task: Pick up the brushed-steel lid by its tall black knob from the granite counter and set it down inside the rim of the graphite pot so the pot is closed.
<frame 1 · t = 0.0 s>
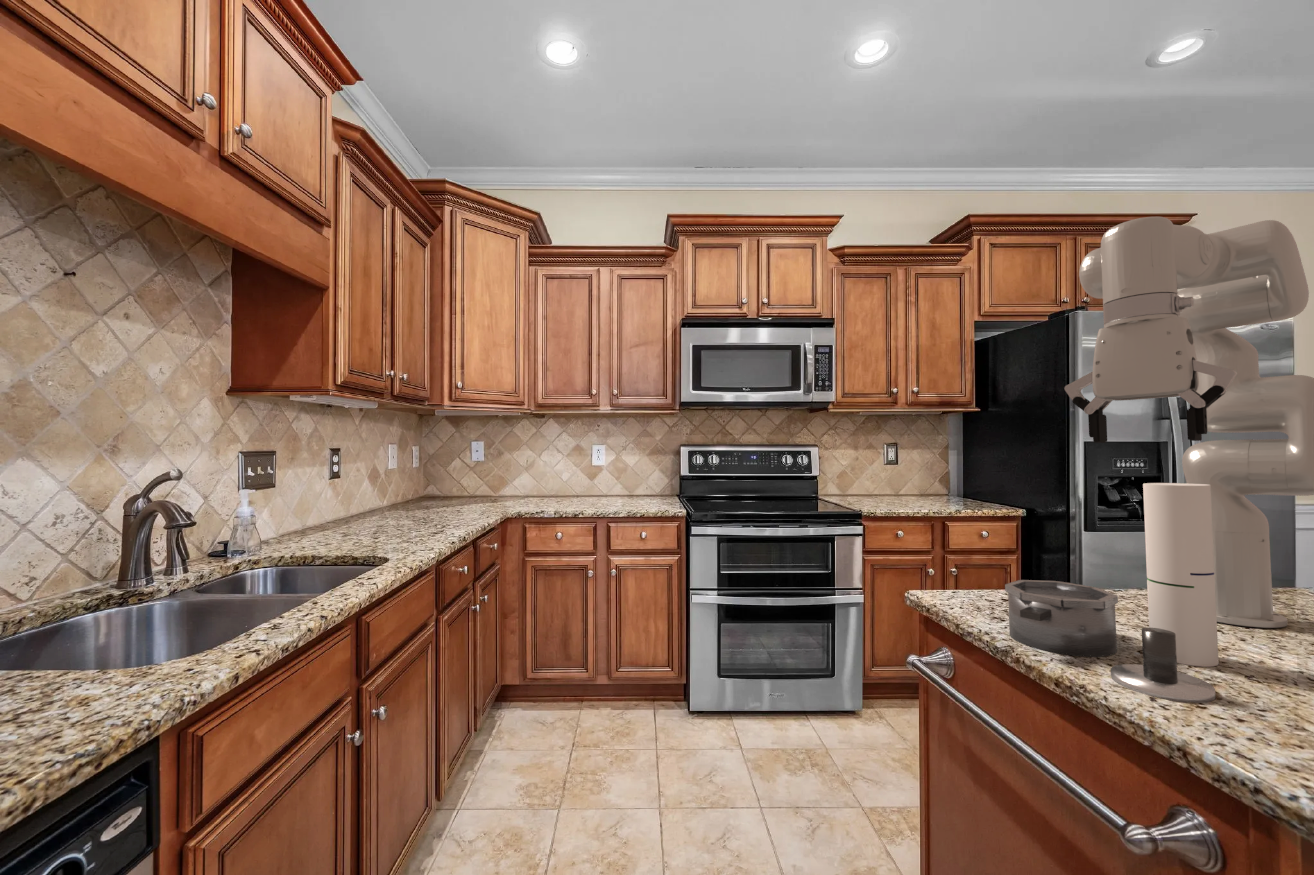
hand: (1145, 441, 73), 31 cm above the counter, tool pointing down, fingers open, 9 cm apart
cylindrical container: (1183, 658, 79), on the counter
lid: (1160, 686, 70), on the counter
pot: (1060, 641, 86), on the counter
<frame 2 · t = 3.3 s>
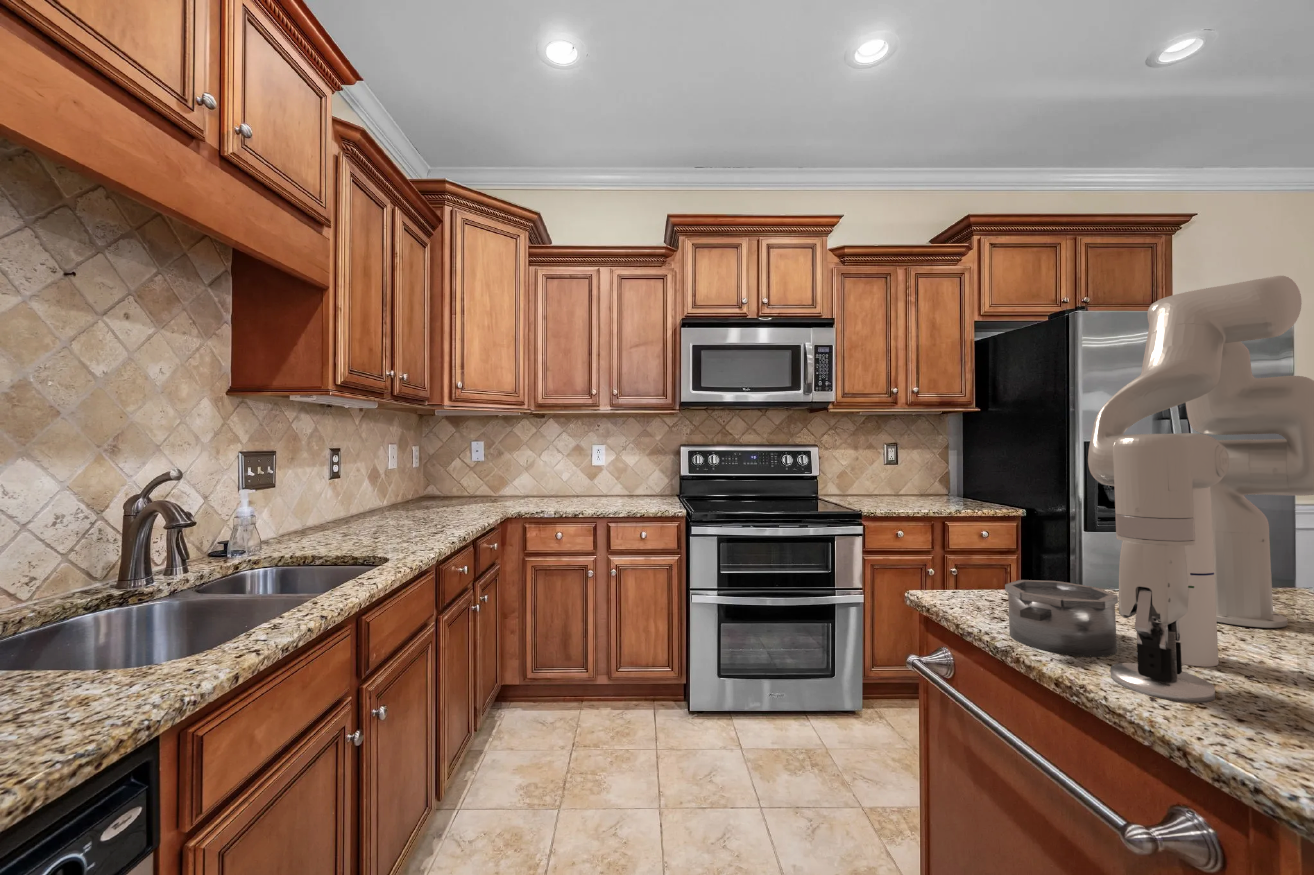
hand: (1160, 673, 70), 2 cm above the counter, tool pointing down, fingers closed on lid, 3 cm apart
lid: (1160, 685, 70), on the counter, touching gripper
everything else where it was.
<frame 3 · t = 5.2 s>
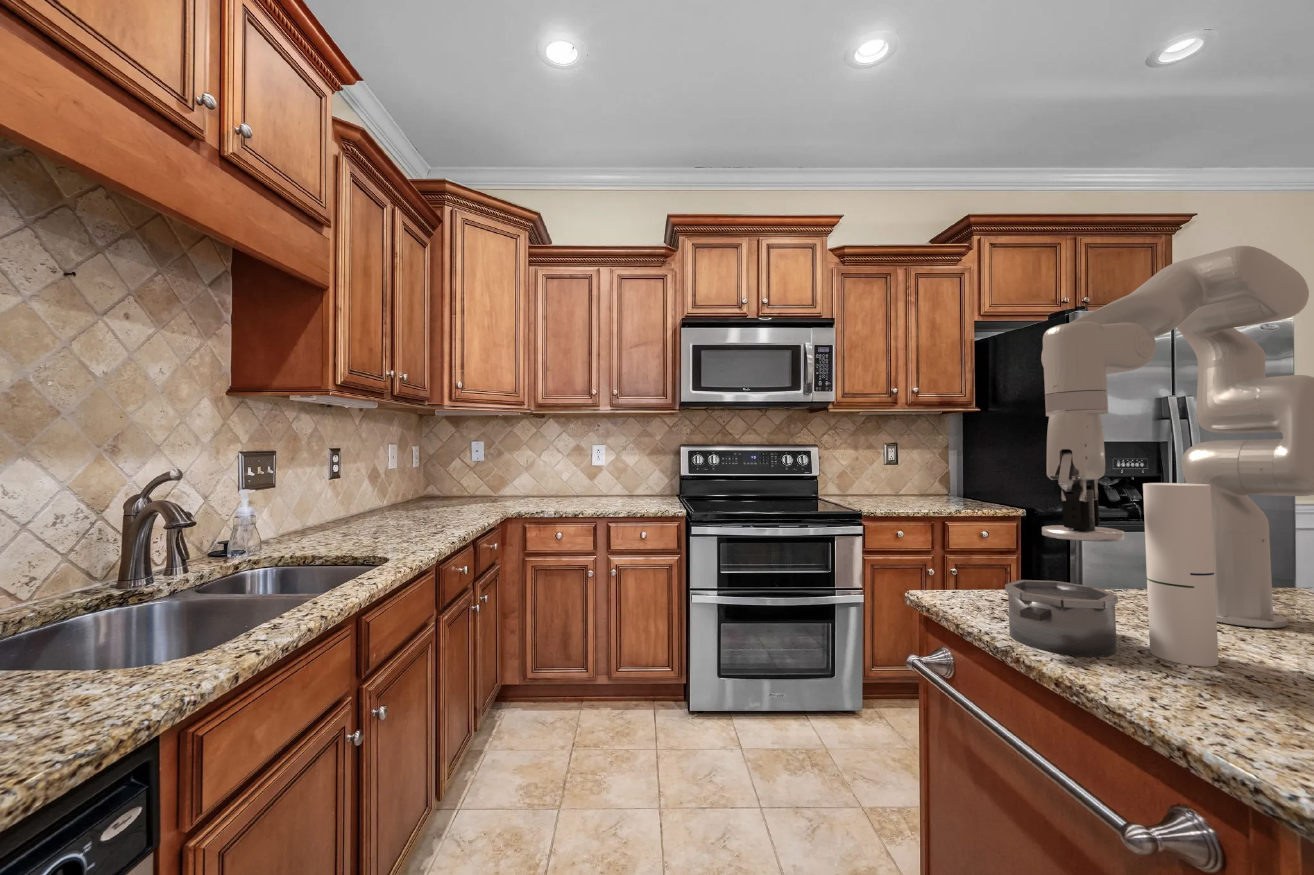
hand: (1081, 525, 82), 19 cm above the counter, tool pointing down, fingers closed on lid, 3 cm apart
lid: (1081, 536, 82), point 17 cm above the counter, touching gripper
everything else where it was.
when the fingers open (10 cm above the counter, at t = 7.5 s): lid drops 1 cm, resting on pot.
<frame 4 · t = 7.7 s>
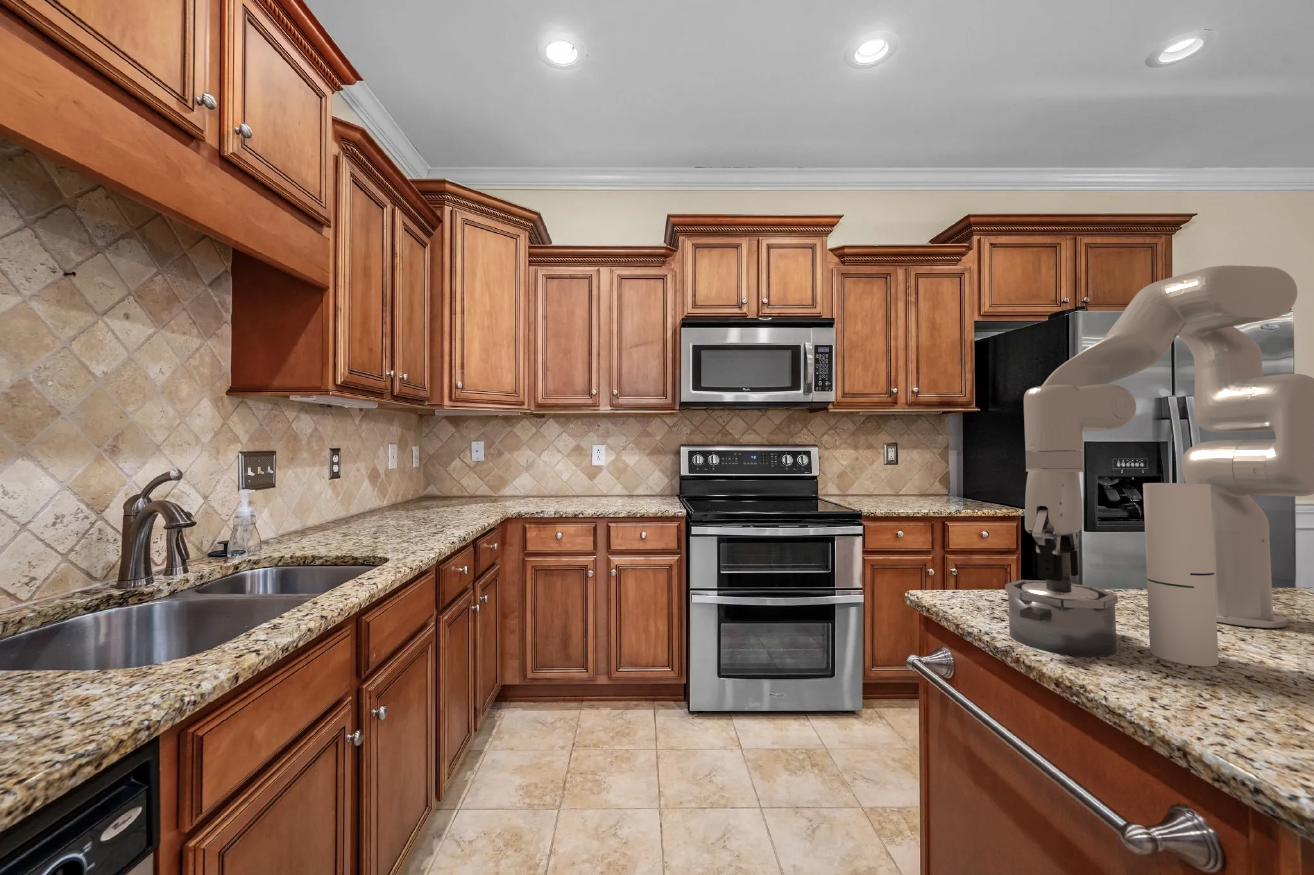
hand: (1058, 575, 87), 10 cm above the counter, tool pointing down, fingers open, 5 cm apart
lid: (1059, 596, 86), point 7 cm above the counter, touching pot
everything else where it was.
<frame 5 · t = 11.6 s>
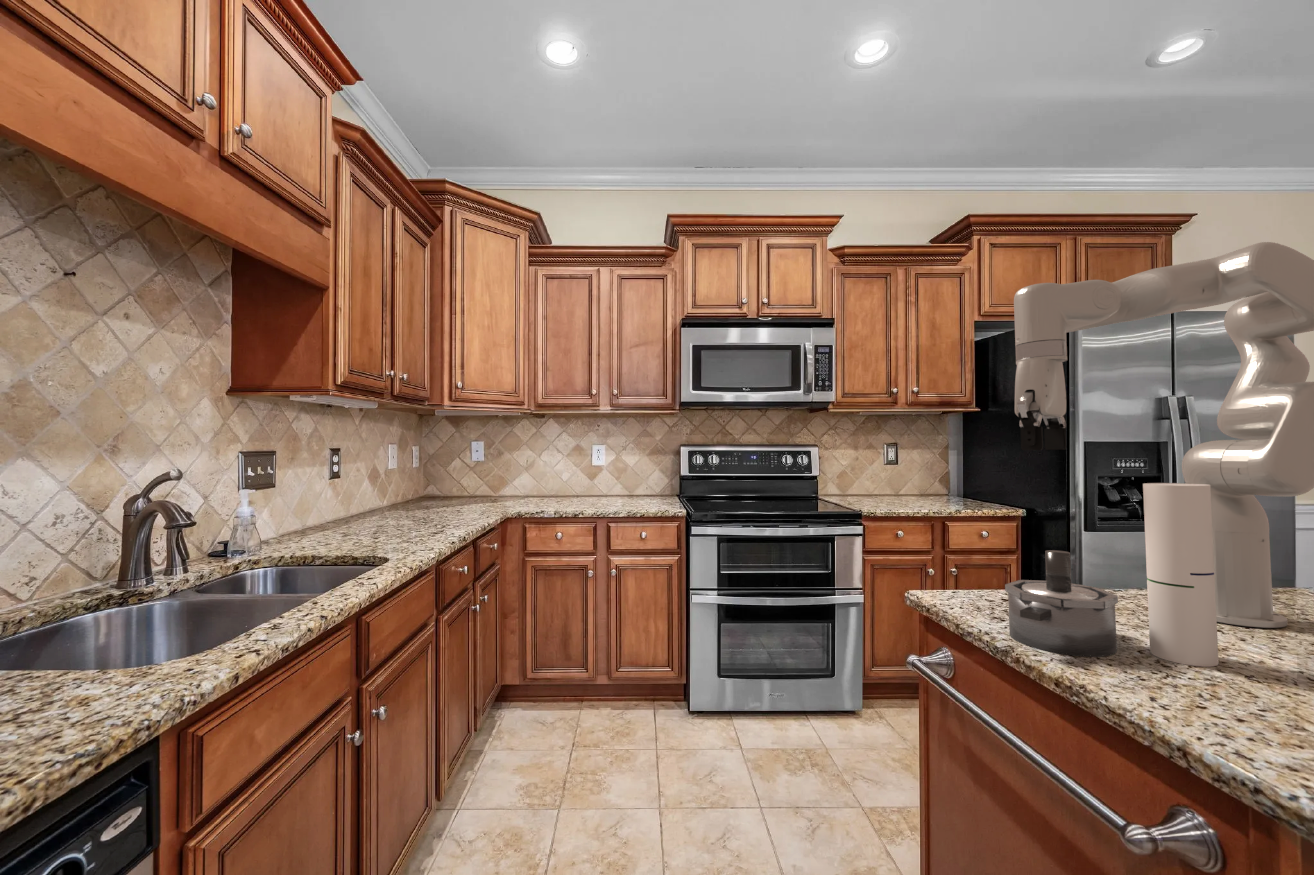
hand: (1044, 449, 97), 30 cm above the counter, tool pointing down, fingers open, 9 cm apart
nothing on the counter moved.
at the end: lid 0.1 cm off-centre on the pot, point 7.0 cm above the pot's base; lid tilted 0°; the gripper is holding nothing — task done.
